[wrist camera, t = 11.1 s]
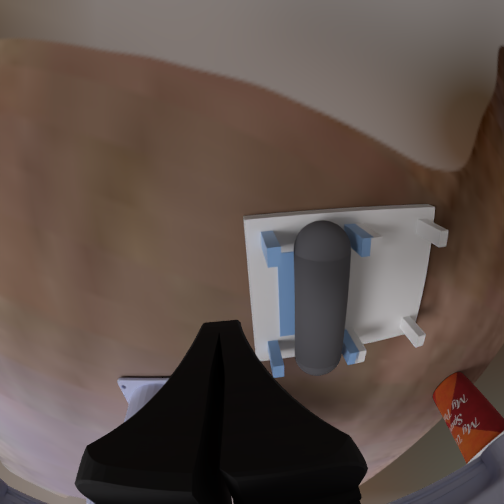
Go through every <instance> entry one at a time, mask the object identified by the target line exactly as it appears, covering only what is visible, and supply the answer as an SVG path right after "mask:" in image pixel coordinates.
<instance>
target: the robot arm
mask: <svg viewBox="0 0 504 504" xmlns="http://www.w3.org/2000/svg"><path fill="white" fill-rule="evenodd" d="M117 382H118V385H119V387H120V388H121V390H122V392H123V394H124V396H125V398H126V400H127V402H128V403H129V406H128V409H127V413H126V417H125V420H124V423H123V424H121V425H120V426H119V427H117V428H116V429H114V430H113V431H111V432H110V433H108V434H106V435H105V436H103V437H101V438H100V439H98V440H96V441H95V442H93V443H91V444H89V445H87V447H86V449H85V451H84V454H83V456H82V459H81V463H80V466H79V470H78V473H77V477H76V481H75V485H76V487H77V489H78V490H79V491H80V492H81V493H82V494H83V495H84V496H85V497H87V502H86V504H232V499H231V496H232V498H233V503H234V504H361V503H360V499H361V494H360V490H359V487H358V486H359V484H360V483H361V481H362V479H363V478H364V476H365V475H366V473H367V470H368V467H367V464H366V461H365V459H364V457H363V455H362V454H361V452H360V450H359V449H358V447H357V445H356V444H355V443H354V441H353V440H352V438H351V437H350V436H349V435H348V434H346V433H344V432H342V431H340V430H338V429H337V428H335V427H333V426H331V425H330V424H328V423H327V422H325V421H323V420H322V419H320V418H319V417H318V416H316V415H315V414H313V413H312V412H310V411H309V410H308V409H307V408H305V407H304V406H303V405H302V404H300V403H299V402H298V401H297V400H296V399H294V398H293V397H292V396H291V395H290V394H289V393H288V392H287V391H286V390H285V389H284V388H282V386H281V385H280V384H279V383H278V382H277V381H276V380H275V379H274V378H273V377H272V376H271V374H270V373H269V372H268V371H267V369H266V368H265V367H264V366H263V364H262V363H261V362H260V360H259V359H258V357H257V356H256V354H255V353H254V351H253V349H252V348H251V346H250V344H249V343H248V341H247V339H246V337H245V335H244V332H243V330H242V327H241V322H239V321H238V320H230V321H219V322H208V323H204V324H203V325H202V326H201V328H200V330H199V332H198V334H197V336H196V338H195V340H194V342H193V343H192V345H191V347H190V349H189V350H188V352H187V353H186V355H185V357H184V358H183V360H182V361H181V363H180V364H179V366H178V367H177V368H176V370H175V371H174V373H173V374H172V375H171V377H170V378H119V379H118V381H117ZM0 504H47V503H45V502H42V501H40V500H38V499H35V498H33V497H31V496H28V495H26V494H24V493H22V492H20V491H18V490H16V489H14V488H12V487H10V486H8V485H7V484H6V483H5V482H4V481H3V480H1V479H0ZM387 504H504V434H503V435H501V436H500V437H498V438H497V439H496V440H495V441H493V442H492V443H491V444H490V445H489V446H488V447H487V448H486V449H485V450H484V451H483V452H482V454H481V456H479V457H478V458H476V459H474V460H473V461H471V462H470V463H468V464H467V465H465V466H463V467H462V468H460V469H458V470H456V471H455V472H453V473H451V474H449V475H448V476H446V477H444V478H442V479H440V480H438V481H436V482H434V483H433V484H431V485H429V486H426V487H424V488H422V489H420V490H418V491H416V492H414V493H412V494H409V495H407V496H405V497H402V498H400V499H397V500H395V501H393V502H390V503H387Z"/></svg>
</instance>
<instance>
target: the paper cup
mask: <svg viewBox="0 0 504 504" xmlns="http://www.w3.org/2000/svg"><path fill="white" fill-rule="evenodd" d="M433 399H434V401H435V403H436V405H437V407H438V409H439V411H440V413H441V415H442V416H443V418H444V420H445V422H446V424H447V426H448V428H449V430H450V431H451V433H452V435H453V437H454V439H455V441H456V443H457V445H458V447H459V449H460V451H461V453H462V455H463V457H464V459H465V461H466V463H467V464H468V463H470V462H471V461H473V460H474V459H476V458H478V457H479V456H481V454H482V452H483V451H484V450H485V449H486V448H487V447H488V446H489V445H490V444H491V443H492V442H493V441H495V440H496V439H497V438H498V437H500V436H501V435H503V434H504V418H503V417H502V416H501V415H500V414H499V413H498V411H497V410H496V409H495V408H494V407H493V406H492V405H491V403H490V402H489V401H488V400H487V399H486V398H485V397H484V396H483V395H482V393H481V392H480V391H479V390H478V389H477V388H476V387H475V386H474V385H473V384H472V382H471V381H470V380H469V379H468V378H467V377H466V376H465V375H464V374H463V373H461V372H456V373H454V374H452V375H450V376H449V377H447V378H446V379H445V380H444V381H443V382H442V383H441V384H440V385H439V386H438V387H437V388H436V390H435V392H434V394H433Z"/></svg>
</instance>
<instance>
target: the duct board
mask: <svg viewBox="0 0 504 504" xmlns="http://www.w3.org/2000/svg"><path fill="white" fill-rule="evenodd" d="M434 215H435V207H434V206H432V205H429V204H414V205H390V206H370V207H353V208H337V209H322V210H308V211H295V212H283V213H271V214H260V215H249V216H243V219H244V231H245V242H246V254H247V265H248V276H249V288H250V299H251V310H252V321H253V332H254V343H255V354H256V356H257V357H258V359H259V360H260V361H266V360H270V364H271V369H272V374H273V378H277V377H284V363H283V359H282V358H288V357H295V292H294V242H295V239H296V237H297V235H298V233H299V232H300V231H301V229H302V228H303V227H305V226H306V225H307V224H309V223H312V222H314V221H320V220H325V221H331V222H333V223H335V224H337V225H339V226H340V227H341V228H342V229H343V230H344V231H345V232H346V234H347V236H348V238H349V240H350V244H351V263H350V278H349V291H348V302H347V313H346V322H345V331H344V339H343V347H342V354H343V356H344V358H345V360H346V362H347V364H348V365H351V364H355V363H359V362H364V360H365V355H366V349H365V347H364V345H363V344H366V343H370V342H375V341H379V340H383V339H387V338H391V337H395V336H399V335H403V334H405V335H406V336H407V338H408V339H409V340H410V341H411V343H412V344H413V345H414V346H415V348H416V347H419V346H422V345H423V343H424V340H425V336H426V334H425V333H424V332H423V330H422V329H421V328H420V327H419V326H418V325H417V324H416V319H417V315H418V311H419V307H420V302H421V298H422V293H423V288H424V283H425V278H426V273H427V267H428V261H429V255H430V248H431V243H432V244H434V245H436V246H437V247H445V246H446V244H447V238H448V230H447V229H445V228H443V227H441V226H439V225H437V224H435V223H434Z"/></svg>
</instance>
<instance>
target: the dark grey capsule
mask: <svg viewBox="0 0 504 504" xmlns="http://www.w3.org/2000/svg"><path fill="white" fill-rule="evenodd" d="M350 263H351V244H350V240H349V238H348V236H347V234H346V232H345V231H344V230H343V229H342V228H341V227H340V226H339V225H337V224H335V223H333V222H331V221H325V220H320V221H314V222H312V223H309V224H307V225H306V226H305V227H303V228H302V229H301V231H300V232H299V233H298V235H297V237H296V239H295V242H294V292H295V359H296V362H297V364H298V366H299V367H300V368H301V369H302V370H303V371H304V372H306V373H308V374H310V375H315V376H319V375H324V374H327V373H329V372H331V371H332V370H333V369H334V368H335V367H336V366H337V365H338V363H339V361H340V358H341V354H342V347H343V339H344V331H345V322H346V313H347V302H348V291H349V278H350Z"/></svg>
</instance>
